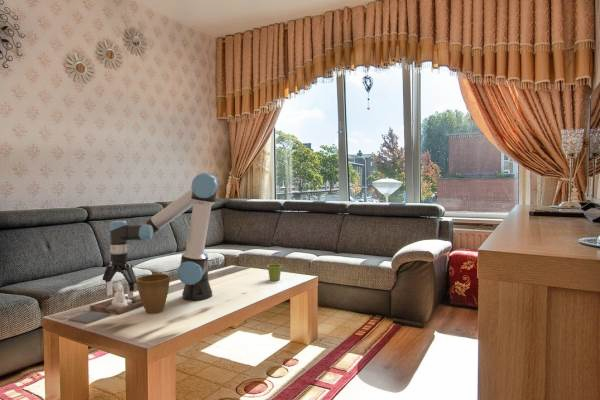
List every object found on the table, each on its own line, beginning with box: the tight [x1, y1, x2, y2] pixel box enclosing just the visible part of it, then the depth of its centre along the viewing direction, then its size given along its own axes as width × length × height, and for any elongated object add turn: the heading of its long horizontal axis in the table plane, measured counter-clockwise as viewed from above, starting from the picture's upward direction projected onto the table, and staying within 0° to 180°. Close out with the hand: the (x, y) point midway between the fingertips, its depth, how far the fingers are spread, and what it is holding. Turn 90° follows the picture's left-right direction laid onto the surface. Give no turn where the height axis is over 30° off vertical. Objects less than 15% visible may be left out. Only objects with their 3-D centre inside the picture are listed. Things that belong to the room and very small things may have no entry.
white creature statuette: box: [111, 281, 133, 308], centre depth 205 cm, size 10×9×12 cm
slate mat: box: [67, 310, 112, 324], centre depth 189 cm, size 12×12×1 cm
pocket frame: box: [89, 295, 144, 316], centre depth 205 cm, size 19×19×2 cm
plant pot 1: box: [135, 273, 171, 315], centre depth 196 cm, size 15×15×16 cm
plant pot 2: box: [266, 263, 283, 282], centre depth 255 cm, size 9×9×9 cm
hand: (120, 296), depth 205 cm, fingers open, 13 cm apart
